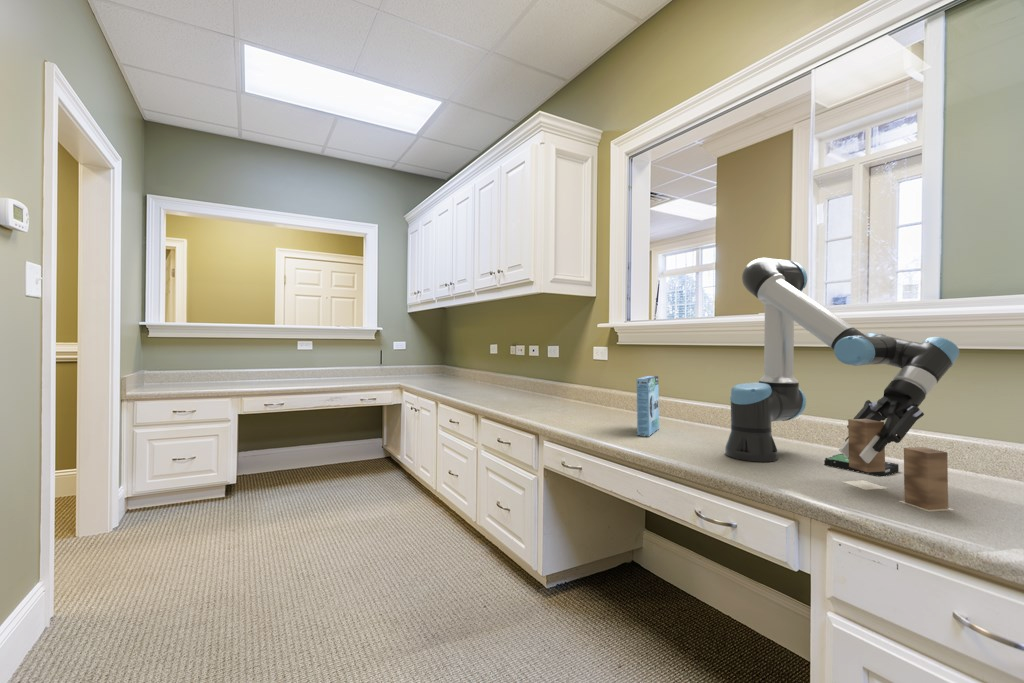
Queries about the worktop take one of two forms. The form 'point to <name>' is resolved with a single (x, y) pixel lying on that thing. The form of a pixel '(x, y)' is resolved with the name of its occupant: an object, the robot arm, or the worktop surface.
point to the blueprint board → (869, 485)
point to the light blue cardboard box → (647, 405)
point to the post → (864, 444)
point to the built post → (926, 478)
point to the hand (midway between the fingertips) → (853, 456)
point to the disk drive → (844, 463)
